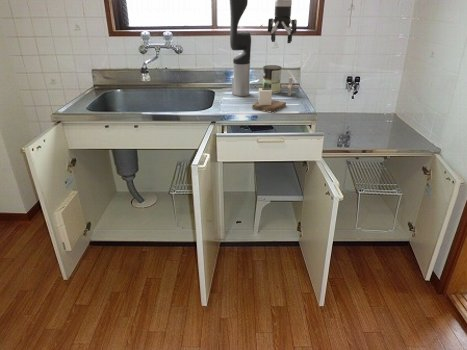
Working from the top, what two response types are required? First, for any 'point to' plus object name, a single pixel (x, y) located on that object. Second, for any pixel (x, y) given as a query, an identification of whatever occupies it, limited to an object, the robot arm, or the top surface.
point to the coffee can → (272, 77)
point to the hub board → (270, 106)
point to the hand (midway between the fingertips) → (281, 42)
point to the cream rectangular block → (265, 96)
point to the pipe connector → (289, 86)
